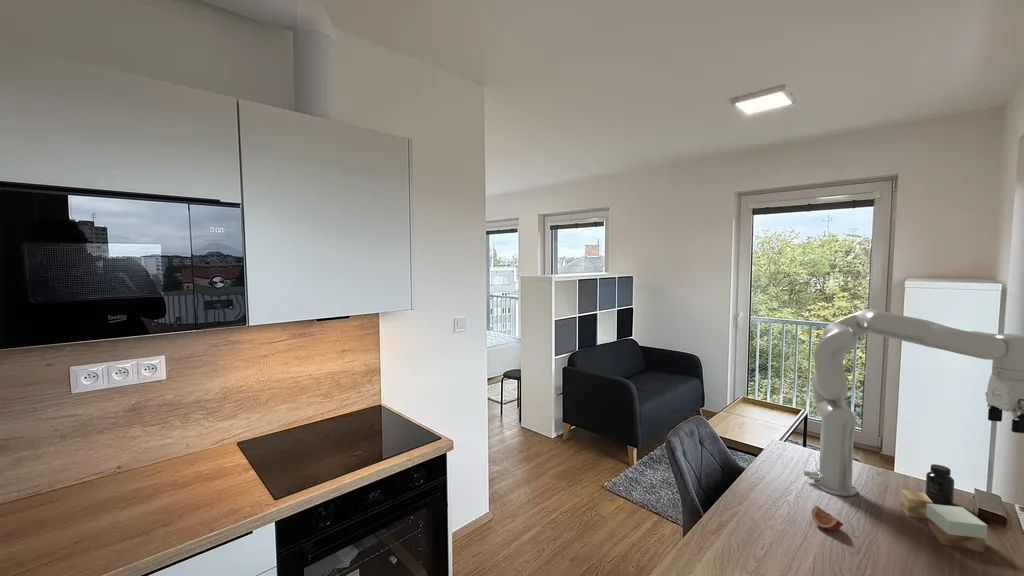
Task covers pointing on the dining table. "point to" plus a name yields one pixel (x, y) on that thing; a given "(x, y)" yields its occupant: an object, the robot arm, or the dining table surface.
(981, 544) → the block
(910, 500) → the oak cube
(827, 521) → the fruit slice
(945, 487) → the supplement bottle
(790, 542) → the dining table surface
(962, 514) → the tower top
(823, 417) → the robot arm
